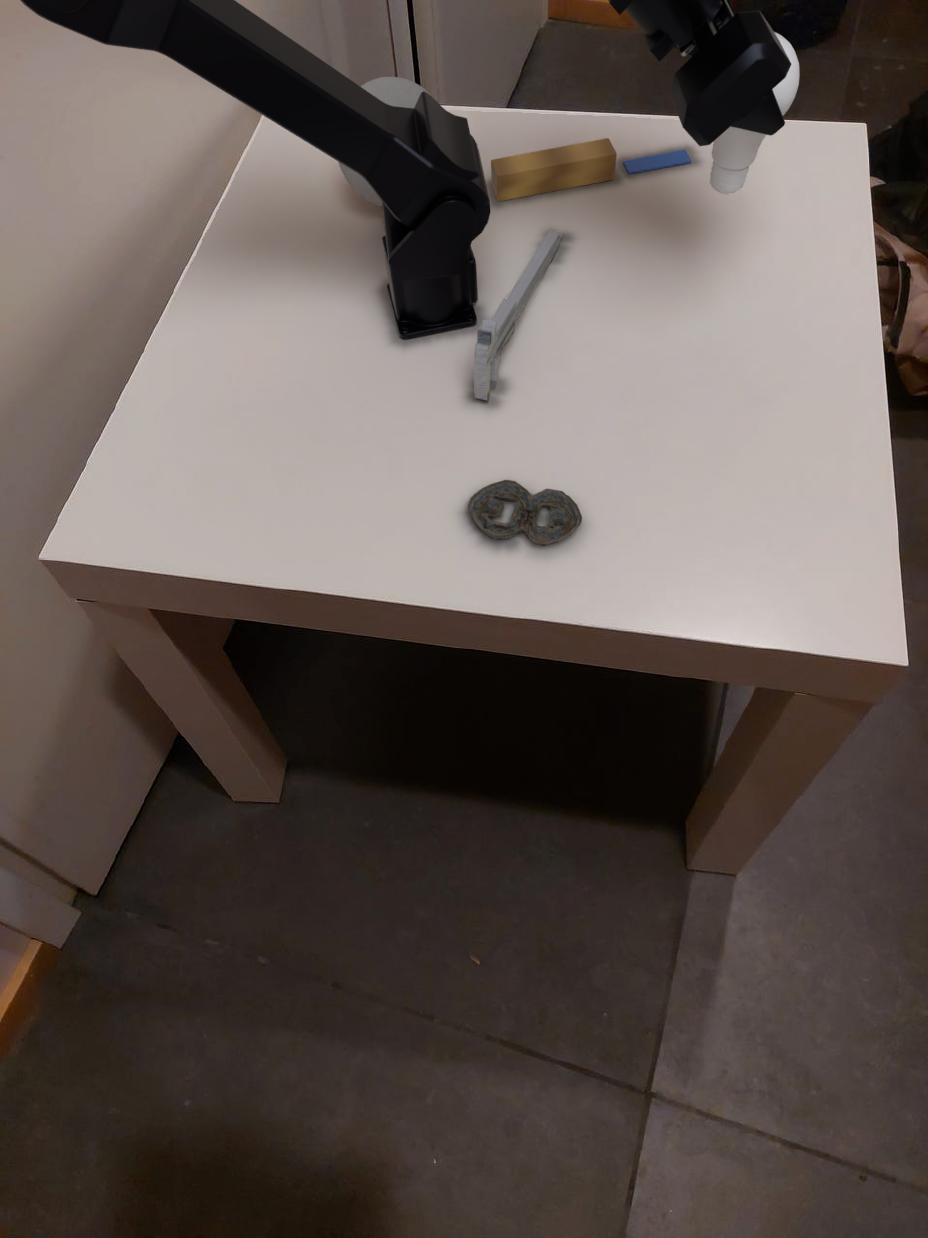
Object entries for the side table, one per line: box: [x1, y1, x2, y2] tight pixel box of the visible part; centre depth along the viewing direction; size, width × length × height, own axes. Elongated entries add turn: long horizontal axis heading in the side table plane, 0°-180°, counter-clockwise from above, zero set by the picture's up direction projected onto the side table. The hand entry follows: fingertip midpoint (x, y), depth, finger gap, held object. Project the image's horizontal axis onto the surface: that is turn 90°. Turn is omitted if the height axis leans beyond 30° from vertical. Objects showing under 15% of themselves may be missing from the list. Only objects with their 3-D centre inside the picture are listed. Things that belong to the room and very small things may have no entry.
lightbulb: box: [709, 31, 800, 195], centre depth 60 cm, size 6×6×11 cm
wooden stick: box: [490, 137, 618, 202], centre depth 77 cm, size 11×2×2 cm, turn 102°
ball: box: [337, 76, 431, 208], centre depth 74 cm, size 10×10×10 cm
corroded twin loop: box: [467, 479, 583, 546], centre depth 59 cm, size 5×8×1 cm, turn 76°
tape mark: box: [622, 148, 692, 175], centre depth 78 cm, size 6×2×1 cm, turn 102°
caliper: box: [472, 230, 564, 401], centre depth 67 cm, size 20×1×6 cm, turn 160°
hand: (765, 101), depth 59 cm, fingers closed on lightbulb, 6 cm apart
